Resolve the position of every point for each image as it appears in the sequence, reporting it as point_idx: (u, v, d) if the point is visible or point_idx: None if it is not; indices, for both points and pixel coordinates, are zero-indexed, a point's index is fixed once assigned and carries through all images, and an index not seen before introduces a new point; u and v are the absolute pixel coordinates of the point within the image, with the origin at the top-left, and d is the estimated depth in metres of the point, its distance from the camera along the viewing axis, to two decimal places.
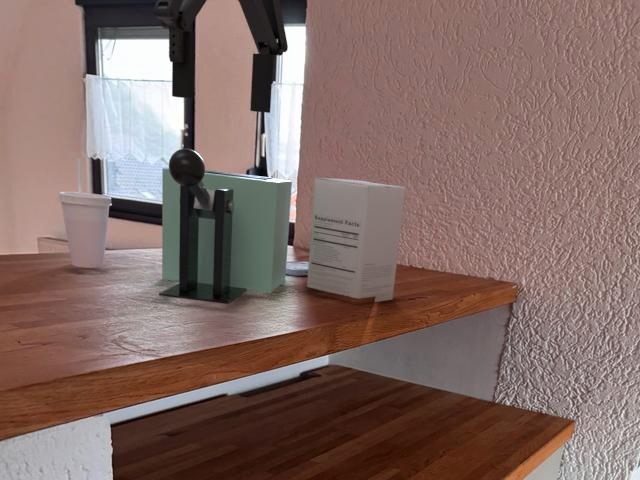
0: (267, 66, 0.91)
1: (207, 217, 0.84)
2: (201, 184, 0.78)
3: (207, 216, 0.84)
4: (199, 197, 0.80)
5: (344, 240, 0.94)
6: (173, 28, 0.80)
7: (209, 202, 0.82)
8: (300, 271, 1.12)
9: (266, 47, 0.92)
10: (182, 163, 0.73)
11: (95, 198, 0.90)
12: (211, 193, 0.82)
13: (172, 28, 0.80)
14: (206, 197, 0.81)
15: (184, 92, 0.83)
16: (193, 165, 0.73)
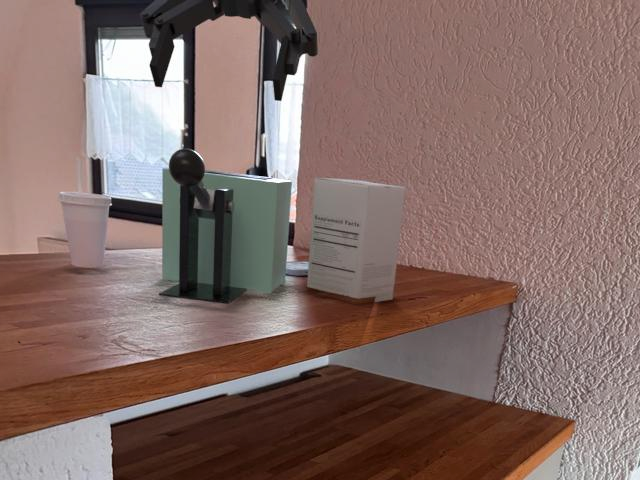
0: None
1: (207, 217, 0.84)
2: (201, 184, 0.78)
3: (207, 216, 0.84)
4: (199, 197, 0.80)
5: (344, 240, 0.94)
6: None
7: (209, 202, 0.82)
8: (300, 271, 1.12)
9: None
10: (182, 163, 0.73)
11: (95, 198, 0.90)
12: (211, 193, 0.82)
13: None
14: (206, 197, 0.81)
15: None
16: (193, 165, 0.73)
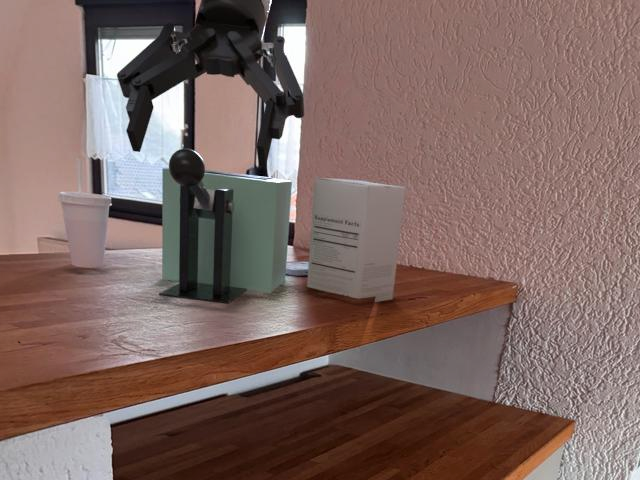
0: (265, 111, 0.77)
1: (207, 217, 0.84)
2: (201, 184, 0.78)
3: (207, 216, 0.84)
4: (199, 197, 0.80)
5: (344, 240, 0.94)
6: None
7: (209, 202, 0.82)
8: (300, 271, 1.12)
9: None
10: (182, 163, 0.73)
11: (95, 198, 0.90)
12: (211, 193, 0.82)
13: None
14: (206, 197, 0.81)
15: None
16: (193, 165, 0.73)
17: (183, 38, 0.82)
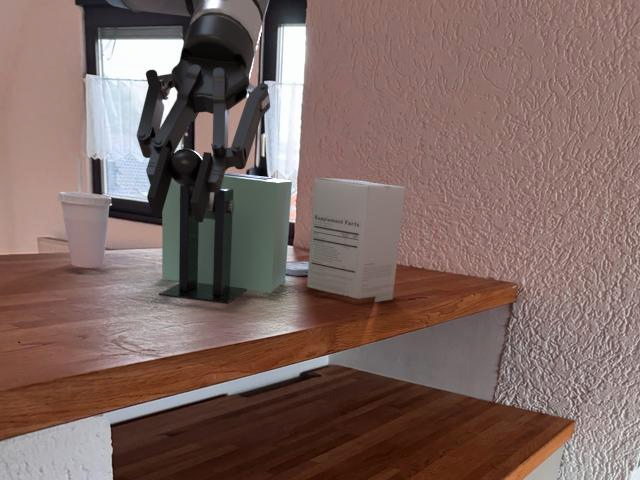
0: None
1: (207, 217, 0.84)
2: None
3: (207, 216, 0.84)
4: None
5: (344, 240, 0.94)
6: None
7: (209, 202, 0.82)
8: (300, 271, 1.12)
9: None
10: (182, 163, 0.73)
11: (95, 198, 0.90)
12: (211, 193, 0.82)
13: None
14: None
15: None
16: (193, 165, 0.73)
17: (169, 79, 0.78)
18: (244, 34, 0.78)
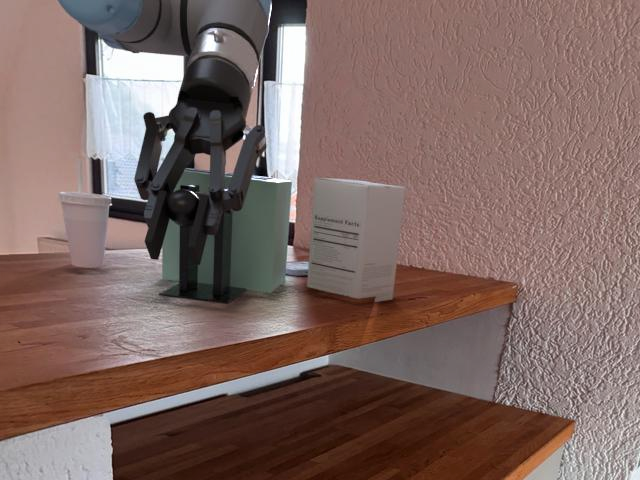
0: None
1: None
2: None
3: None
4: None
5: (344, 240, 0.94)
6: None
7: None
8: (300, 271, 1.12)
9: None
10: (179, 212, 0.74)
11: (95, 198, 0.90)
12: None
13: None
14: None
15: None
16: (190, 212, 0.74)
17: (166, 121, 0.79)
18: (240, 76, 0.79)
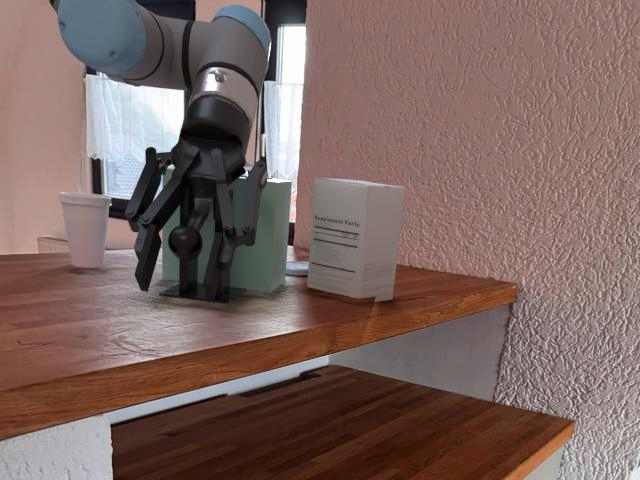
0: None
1: None
2: (200, 224, 0.80)
3: None
4: None
5: (344, 240, 0.94)
6: None
7: (209, 213, 0.83)
8: (300, 271, 1.12)
9: None
10: (182, 254, 0.76)
11: (95, 198, 0.90)
12: (209, 204, 0.82)
13: None
14: (206, 216, 0.82)
15: None
16: (192, 252, 0.76)
17: (167, 157, 0.81)
18: (240, 115, 0.81)
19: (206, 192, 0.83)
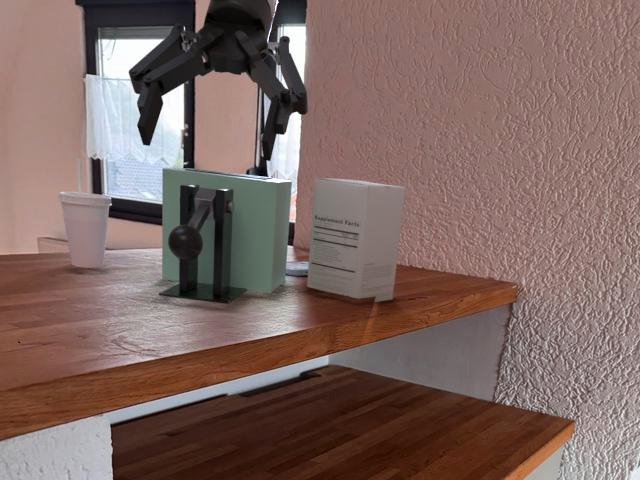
0: None
1: None
2: (200, 224, 0.80)
3: None
4: None
5: (344, 240, 0.94)
6: None
7: (209, 213, 0.83)
8: (300, 271, 1.12)
9: None
10: (182, 254, 0.76)
11: (95, 198, 0.90)
12: (209, 204, 0.82)
13: None
14: (206, 216, 0.82)
15: None
16: (192, 252, 0.76)
17: (192, 37, 0.85)
18: (263, 1, 0.85)
19: (206, 192, 0.83)
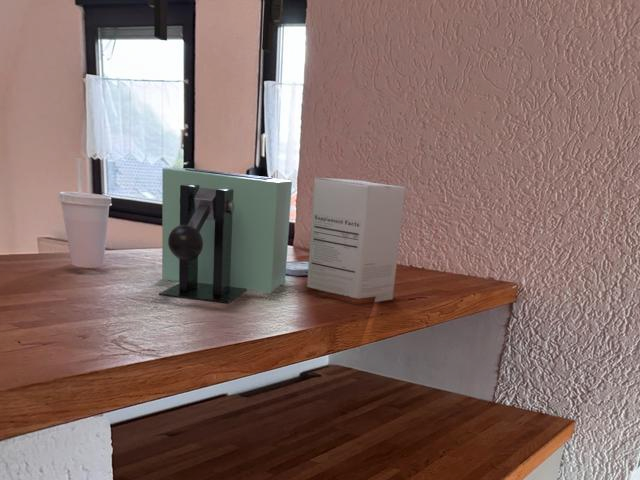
0: None
1: None
2: (200, 224, 0.80)
3: None
4: None
5: (344, 240, 0.94)
6: None
7: (209, 213, 0.83)
8: (300, 271, 1.12)
9: None
10: (182, 254, 0.76)
11: (95, 198, 0.90)
12: (209, 204, 0.82)
13: None
14: (206, 216, 0.82)
15: None
16: (192, 252, 0.76)
17: None
18: None
19: (206, 192, 0.83)
